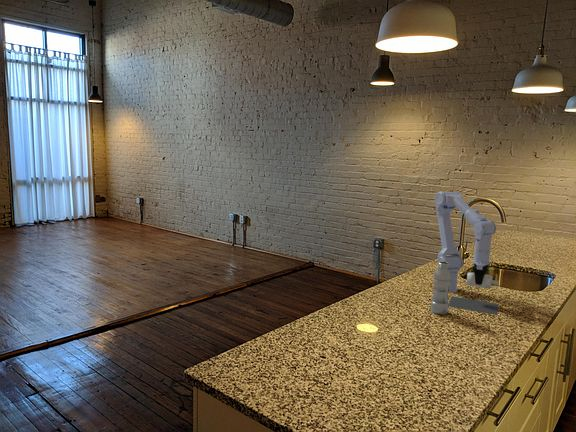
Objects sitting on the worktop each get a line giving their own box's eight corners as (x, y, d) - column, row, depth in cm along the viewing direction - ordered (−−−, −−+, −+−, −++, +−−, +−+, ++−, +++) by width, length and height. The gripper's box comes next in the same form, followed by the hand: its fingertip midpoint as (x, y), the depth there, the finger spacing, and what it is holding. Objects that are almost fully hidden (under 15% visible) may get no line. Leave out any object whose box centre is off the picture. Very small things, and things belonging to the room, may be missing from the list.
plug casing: (465, 284, 181) (466, 274, 180) (466, 282, 185) (467, 271, 184) (497, 289, 176) (498, 279, 175) (498, 287, 180) (499, 276, 179)
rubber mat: (447, 307, 177) (447, 306, 177) (451, 297, 189) (452, 296, 189) (497, 316, 169) (497, 315, 169) (498, 305, 181) (498, 304, 181)
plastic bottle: (433, 309, 174) (438, 259, 171) (450, 313, 170) (455, 262, 167) (427, 313, 169) (431, 262, 166) (444, 318, 165) (449, 266, 162)
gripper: (492, 255, 170) (488, 289, 173) (493, 248, 183) (490, 279, 185) (472, 252, 174) (469, 286, 176) (475, 245, 186) (472, 277, 189)
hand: (478, 282), depth 181 cm, fingers closed on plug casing, 4 cm apart
